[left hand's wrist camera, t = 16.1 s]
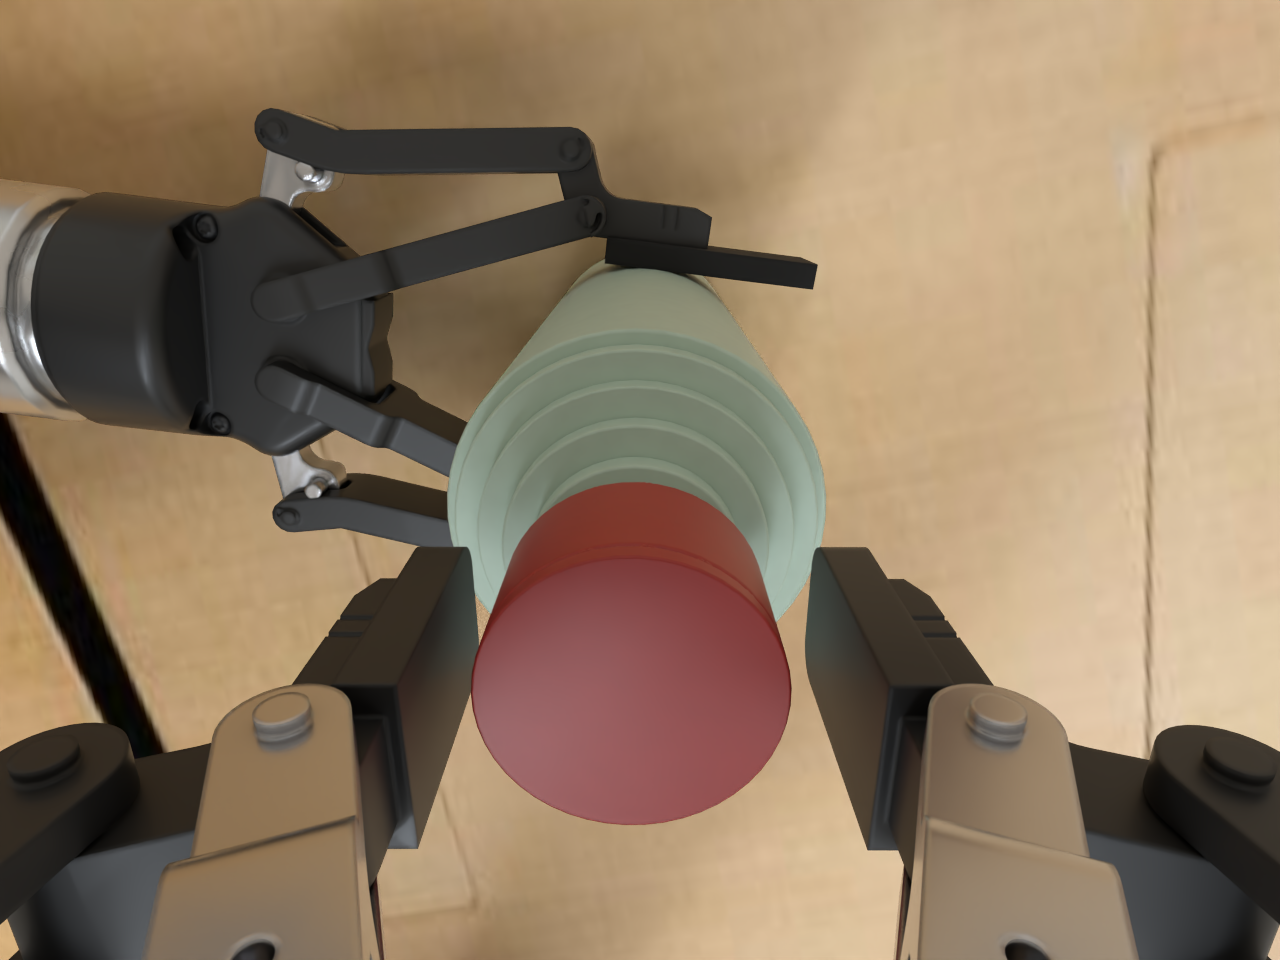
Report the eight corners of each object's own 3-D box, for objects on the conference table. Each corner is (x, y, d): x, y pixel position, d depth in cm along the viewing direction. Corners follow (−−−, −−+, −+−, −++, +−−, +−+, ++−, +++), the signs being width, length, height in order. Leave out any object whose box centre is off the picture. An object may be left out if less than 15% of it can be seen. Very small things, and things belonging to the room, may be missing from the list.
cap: (766, 699, 12) (795, 816, 10) (523, 716, 13) (496, 834, 10) (758, 469, 11) (789, 543, 9) (486, 490, 11) (444, 568, 9)
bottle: (557, 424, 34) (382, 887, 11) (551, 250, 31) (309, 403, 9) (724, 425, 34) (881, 891, 11) (732, 250, 31) (953, 405, 9)
